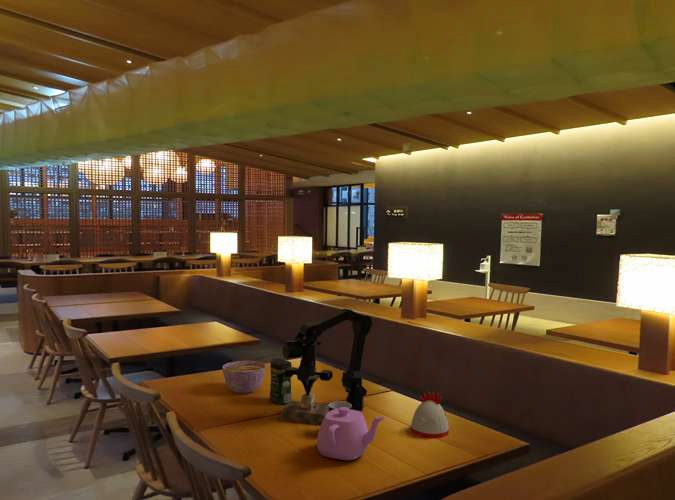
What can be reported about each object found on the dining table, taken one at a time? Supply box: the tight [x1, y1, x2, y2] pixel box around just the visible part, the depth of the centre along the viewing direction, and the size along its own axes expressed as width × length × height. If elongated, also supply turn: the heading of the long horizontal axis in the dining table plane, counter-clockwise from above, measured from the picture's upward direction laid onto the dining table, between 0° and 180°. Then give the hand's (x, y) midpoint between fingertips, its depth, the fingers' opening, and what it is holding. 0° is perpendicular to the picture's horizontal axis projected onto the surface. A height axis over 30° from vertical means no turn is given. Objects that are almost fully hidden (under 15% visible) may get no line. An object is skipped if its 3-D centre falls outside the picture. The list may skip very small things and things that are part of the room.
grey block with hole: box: [280, 400, 330, 426], centre depth 211 cm, size 18×12×4 cm, turn 76°
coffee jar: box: [269, 357, 293, 405], centre depth 230 cm, size 10×8×19 cm
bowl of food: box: [221, 360, 267, 395], centre depth 244 cm, size 20×20×12 cm
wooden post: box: [300, 392, 316, 410], centre depth 211 cm, size 4×4×9 cm
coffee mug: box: [328, 401, 353, 412], centre depth 197 cm, size 12×9×10 cm
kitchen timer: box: [410, 391, 450, 439], centre depth 199 cm, size 14×14×15 cm
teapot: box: [316, 407, 386, 461], centre depth 176 cm, size 23×21×15 cm
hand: (308, 395), depth 211 cm, fingers closed, pressing on wooden post
